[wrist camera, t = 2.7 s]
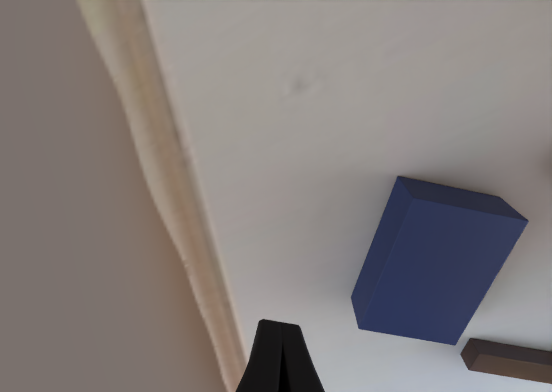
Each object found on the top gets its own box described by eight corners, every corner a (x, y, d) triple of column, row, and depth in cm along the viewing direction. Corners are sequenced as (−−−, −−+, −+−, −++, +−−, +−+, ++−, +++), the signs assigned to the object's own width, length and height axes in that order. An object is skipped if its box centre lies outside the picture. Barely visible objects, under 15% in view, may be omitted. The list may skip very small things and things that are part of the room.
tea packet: (438, 312, 22) (455, 345, 20) (350, 297, 22) (358, 329, 20) (500, 196, 19) (529, 221, 16) (397, 175, 18) (413, 197, 16)
